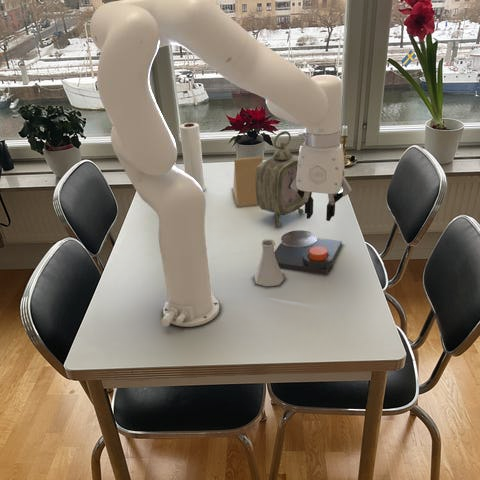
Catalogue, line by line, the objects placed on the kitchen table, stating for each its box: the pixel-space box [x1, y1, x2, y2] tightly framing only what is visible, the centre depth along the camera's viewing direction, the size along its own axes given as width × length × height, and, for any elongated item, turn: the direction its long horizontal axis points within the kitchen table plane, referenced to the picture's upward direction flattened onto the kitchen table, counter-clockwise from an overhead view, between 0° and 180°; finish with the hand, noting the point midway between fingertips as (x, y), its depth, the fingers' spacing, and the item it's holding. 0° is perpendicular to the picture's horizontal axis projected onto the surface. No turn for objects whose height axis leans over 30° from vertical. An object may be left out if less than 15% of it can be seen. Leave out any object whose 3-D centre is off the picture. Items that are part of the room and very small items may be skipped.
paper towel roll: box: [179, 122, 206, 192], centre depth 172 cm, size 7×6×21 cm
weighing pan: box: [280, 229, 319, 248], centre depth 139 cm, size 9×9×1 cm
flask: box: [253, 239, 285, 287], centre depth 126 cm, size 7×7×10 cm
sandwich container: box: [232, 156, 264, 208], centre depth 168 cm, size 9×15×15 cm, turn 6°
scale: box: [274, 237, 343, 276], centre depth 137 cm, size 16×16×3 cm
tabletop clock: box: [255, 130, 305, 228], centre depth 150 cm, size 14×9×25 cm, turn 137°
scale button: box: [309, 247, 328, 261], centre depth 131 cm, size 4×4×2 cm
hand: (319, 216), depth 125 cm, fingers open, 4 cm apart
